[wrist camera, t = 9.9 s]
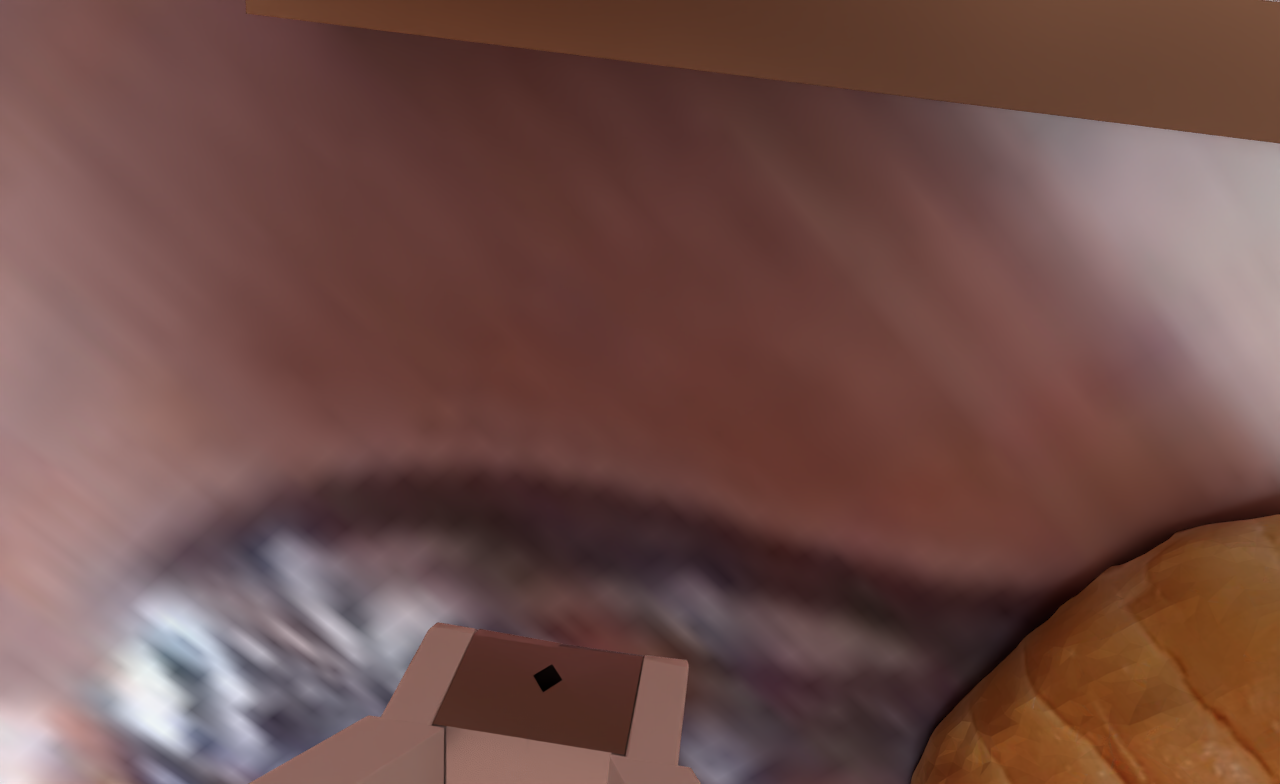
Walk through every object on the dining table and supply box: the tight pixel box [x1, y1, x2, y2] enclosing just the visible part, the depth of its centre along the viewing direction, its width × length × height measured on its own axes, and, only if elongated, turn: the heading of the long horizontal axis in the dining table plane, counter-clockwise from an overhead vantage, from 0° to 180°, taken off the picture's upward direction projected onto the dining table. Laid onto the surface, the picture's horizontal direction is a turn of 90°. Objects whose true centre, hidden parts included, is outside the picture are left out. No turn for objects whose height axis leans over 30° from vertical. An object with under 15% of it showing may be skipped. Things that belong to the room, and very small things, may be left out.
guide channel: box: [246, 0, 1280, 143], centre depth 14 cm, size 19×24×4 cm
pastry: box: [911, 514, 1280, 784], centre depth 15 cm, size 9×7×4 cm
